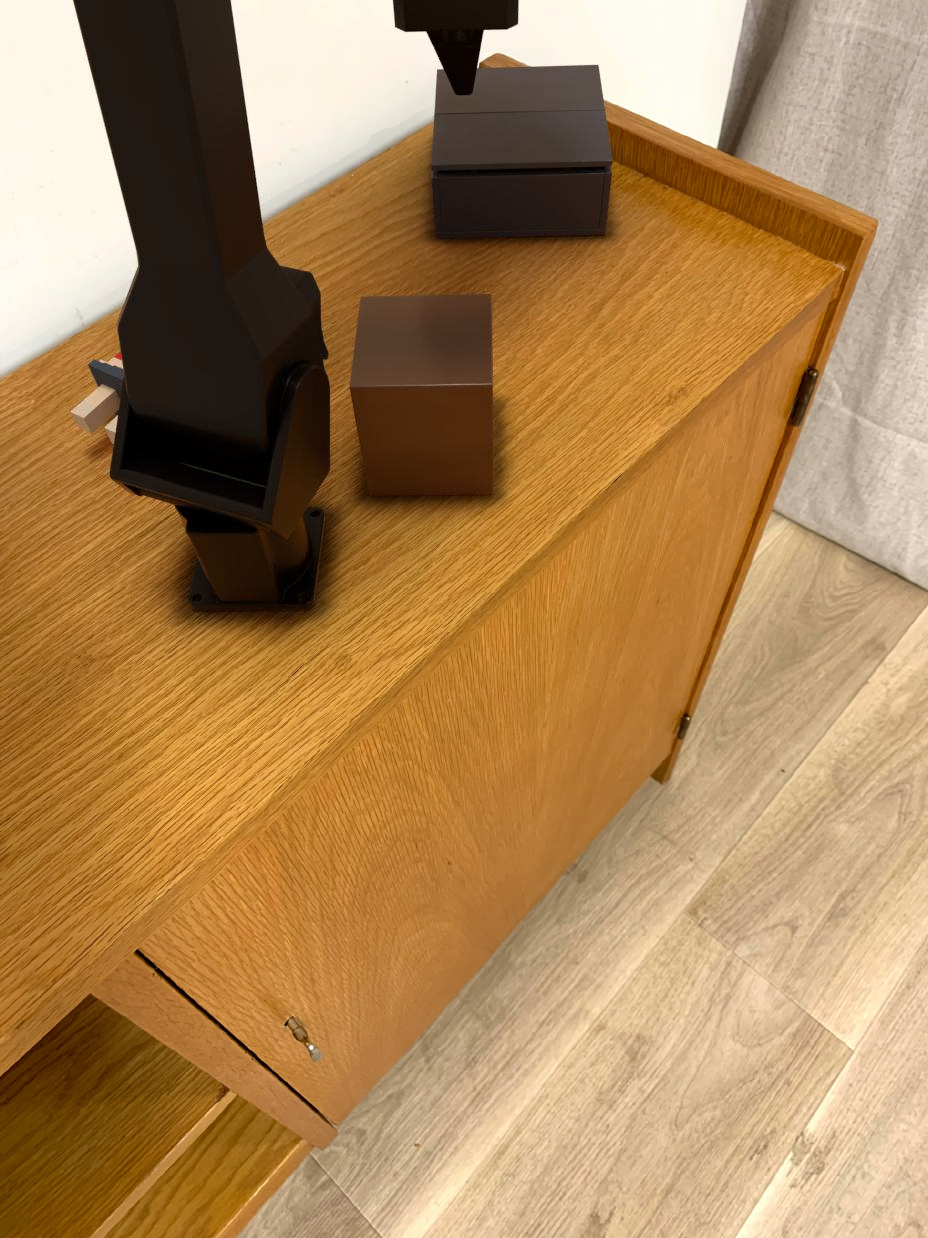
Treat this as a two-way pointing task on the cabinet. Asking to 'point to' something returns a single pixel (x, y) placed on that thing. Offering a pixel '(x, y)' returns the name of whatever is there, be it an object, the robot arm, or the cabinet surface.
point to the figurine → (102, 397)
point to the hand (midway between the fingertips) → (463, 92)
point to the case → (532, 195)
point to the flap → (521, 140)
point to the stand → (425, 394)
